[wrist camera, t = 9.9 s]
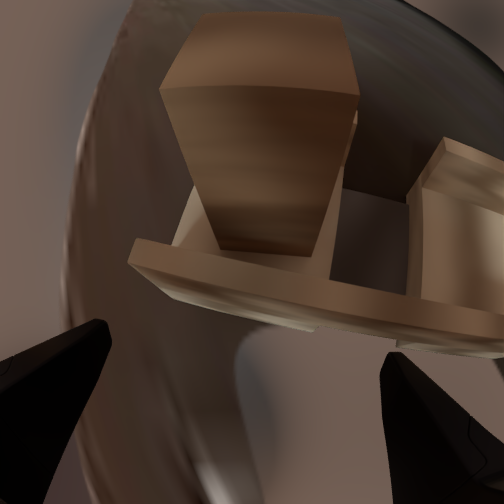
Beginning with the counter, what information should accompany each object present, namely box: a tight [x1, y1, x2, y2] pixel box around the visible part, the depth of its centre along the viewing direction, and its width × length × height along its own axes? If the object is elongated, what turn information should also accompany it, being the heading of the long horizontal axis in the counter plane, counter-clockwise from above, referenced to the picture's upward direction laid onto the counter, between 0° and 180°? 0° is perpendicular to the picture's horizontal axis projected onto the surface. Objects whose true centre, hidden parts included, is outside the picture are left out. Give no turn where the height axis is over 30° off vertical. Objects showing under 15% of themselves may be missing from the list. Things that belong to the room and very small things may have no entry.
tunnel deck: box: [128, 111, 504, 359], centre depth 16 cm, size 24×11×7 cm, turn 76°
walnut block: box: [159, 12, 360, 257], centre depth 12 cm, size 5×5×11 cm
